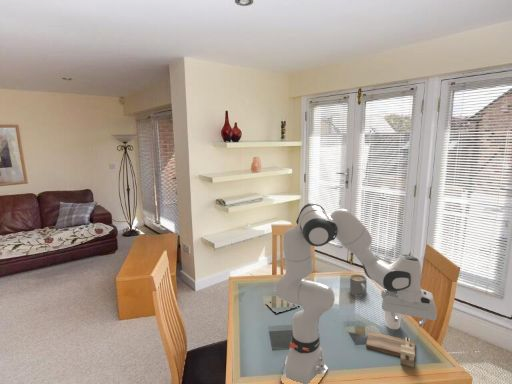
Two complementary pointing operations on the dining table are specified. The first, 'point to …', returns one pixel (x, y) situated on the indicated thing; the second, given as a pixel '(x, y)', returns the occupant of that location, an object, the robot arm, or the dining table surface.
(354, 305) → the dining table surface
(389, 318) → the white cup
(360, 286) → the coffee mug
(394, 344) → the board
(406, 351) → the gauge
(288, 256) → the robot arm
